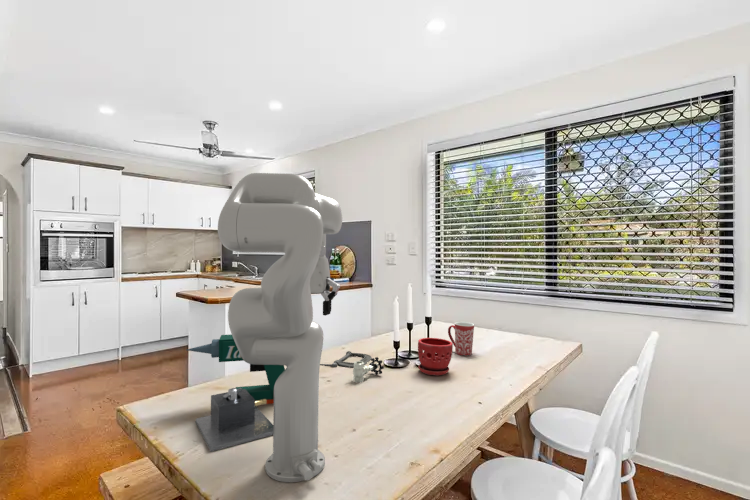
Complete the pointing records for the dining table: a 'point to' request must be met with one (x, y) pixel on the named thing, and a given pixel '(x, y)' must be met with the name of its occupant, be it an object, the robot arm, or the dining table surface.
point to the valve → (366, 369)
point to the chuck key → (232, 394)
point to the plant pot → (434, 355)
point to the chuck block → (234, 421)
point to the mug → (462, 337)
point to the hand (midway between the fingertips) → (311, 313)
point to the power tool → (229, 352)
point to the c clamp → (348, 364)
